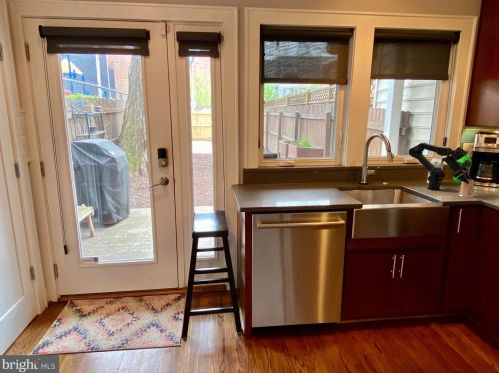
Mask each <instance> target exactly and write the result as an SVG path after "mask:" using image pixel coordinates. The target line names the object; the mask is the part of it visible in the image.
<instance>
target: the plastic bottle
mask: <svg viewBox="0 0 499 373" xmlns="http://www.w3.org/2000/svg"><path fill="white" fill-rule="evenodd" d="M465 151H466V155H465V156H464V157H462V158H461V159H459V160H457V161H458V162H460V163H463V162H465V160H469V161H471V163H472V158H470V157H469V156H468V154H469V153H470V152H469V150H465ZM469 167H470V166H468V167H467V168H468V169H469ZM466 171H467V170H466ZM452 177H453V179H452V180H453V181H454V182H455V183H456V184H461V183H462V181H461V180H459V179H456V178H457V177H456V178H454V176H452Z"/></svg>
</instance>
